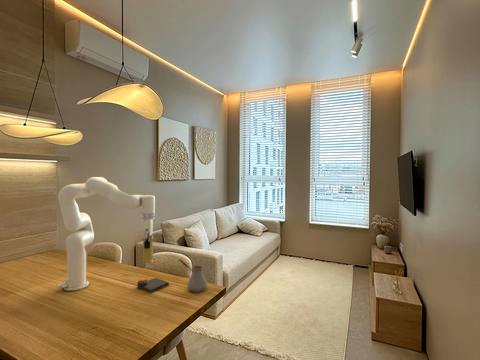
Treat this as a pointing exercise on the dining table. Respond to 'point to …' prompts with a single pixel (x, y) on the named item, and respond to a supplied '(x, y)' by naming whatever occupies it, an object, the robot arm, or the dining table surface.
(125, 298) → the dining table surface
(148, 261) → the vase
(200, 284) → the coffee pot
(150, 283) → the scale
